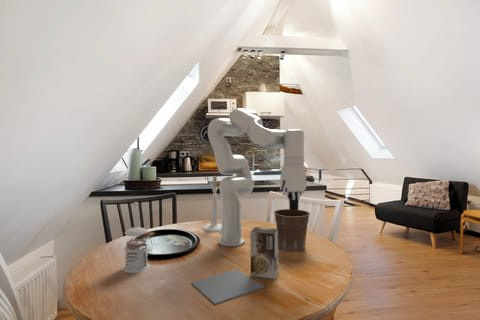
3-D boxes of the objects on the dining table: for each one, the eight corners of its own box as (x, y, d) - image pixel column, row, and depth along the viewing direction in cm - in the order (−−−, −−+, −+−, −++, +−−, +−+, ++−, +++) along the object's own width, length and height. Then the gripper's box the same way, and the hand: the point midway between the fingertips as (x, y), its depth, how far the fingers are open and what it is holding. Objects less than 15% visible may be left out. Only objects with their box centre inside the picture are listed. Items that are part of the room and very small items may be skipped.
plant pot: (279, 239, 145) (280, 207, 144) (312, 244, 138) (313, 210, 137) (268, 250, 130) (268, 214, 129) (304, 256, 123) (305, 218, 122)
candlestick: (225, 232, 158) (225, 176, 156) (202, 232, 157) (201, 176, 156) (226, 225, 170) (226, 174, 169) (204, 225, 170) (204, 174, 169)
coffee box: (278, 272, 107) (279, 228, 106) (274, 279, 101) (275, 233, 100) (254, 268, 110) (255, 226, 109) (249, 275, 104) (249, 231, 103)
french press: (135, 260, 118) (134, 199, 116) (159, 265, 113) (158, 201, 112) (116, 270, 108) (115, 203, 107) (142, 275, 104) (141, 205, 103)
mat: (191, 283, 98) (191, 282, 98) (237, 270, 109) (237, 269, 109) (214, 304, 85) (214, 303, 85) (264, 287, 95) (264, 286, 95)
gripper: (300, 161, 119) (300, 206, 120) (272, 162, 111) (272, 210, 111) (314, 161, 113) (314, 209, 113) (286, 162, 104) (286, 214, 105)
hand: (293, 209), depth 112 cm, fingers closed
